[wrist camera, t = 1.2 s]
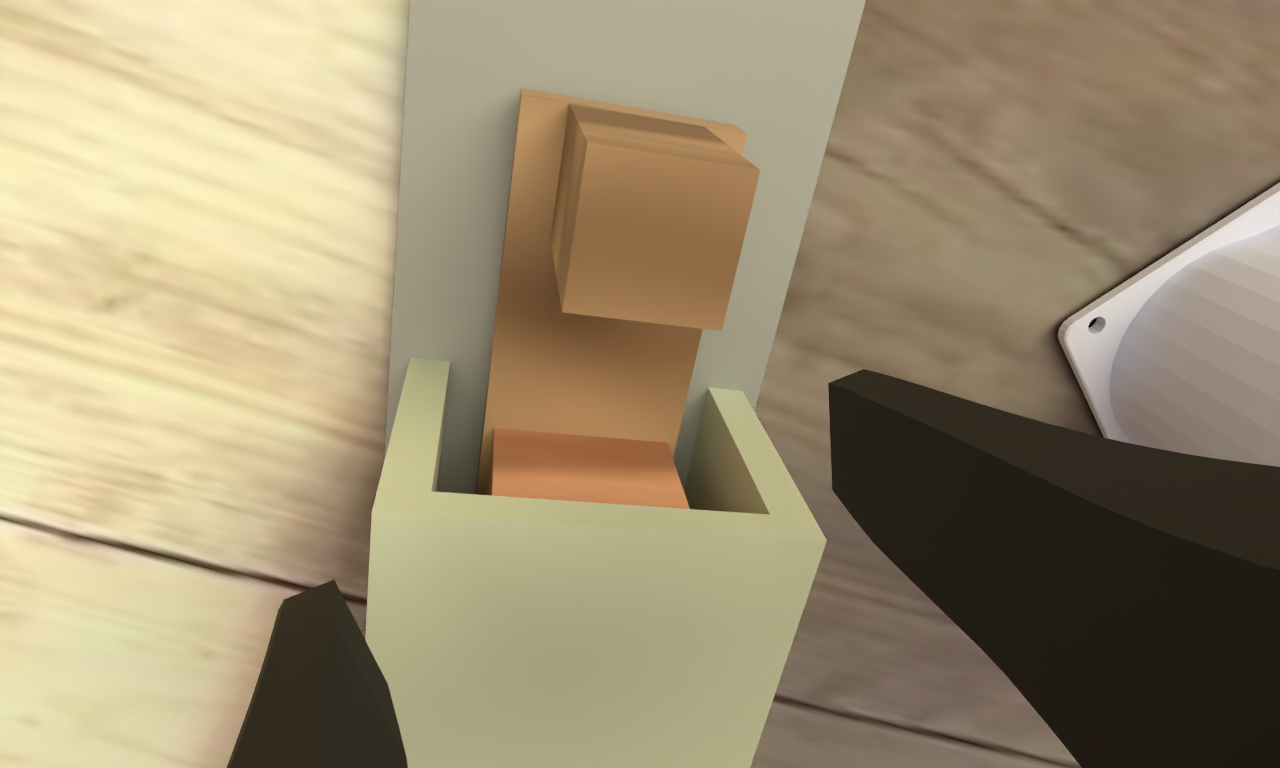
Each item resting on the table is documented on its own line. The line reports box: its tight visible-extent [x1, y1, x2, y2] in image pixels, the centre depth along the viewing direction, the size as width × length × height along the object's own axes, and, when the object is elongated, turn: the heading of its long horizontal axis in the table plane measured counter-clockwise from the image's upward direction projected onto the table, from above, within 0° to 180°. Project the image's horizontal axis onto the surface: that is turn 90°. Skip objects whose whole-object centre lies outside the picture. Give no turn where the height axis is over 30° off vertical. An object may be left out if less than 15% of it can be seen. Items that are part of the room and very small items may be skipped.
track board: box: [384, 0, 866, 494], centre depth 24 cm, size 31×10×1 cm, turn 169°
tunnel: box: [365, 358, 827, 768], centre depth 21 cm, size 7×9×7 cm
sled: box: [475, 88, 760, 509], centre depth 21 cm, size 21×5×6 cm, turn 169°
